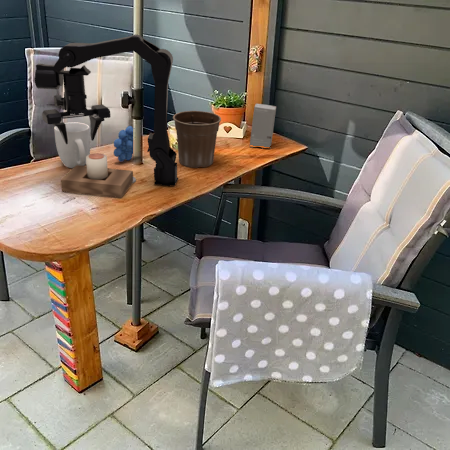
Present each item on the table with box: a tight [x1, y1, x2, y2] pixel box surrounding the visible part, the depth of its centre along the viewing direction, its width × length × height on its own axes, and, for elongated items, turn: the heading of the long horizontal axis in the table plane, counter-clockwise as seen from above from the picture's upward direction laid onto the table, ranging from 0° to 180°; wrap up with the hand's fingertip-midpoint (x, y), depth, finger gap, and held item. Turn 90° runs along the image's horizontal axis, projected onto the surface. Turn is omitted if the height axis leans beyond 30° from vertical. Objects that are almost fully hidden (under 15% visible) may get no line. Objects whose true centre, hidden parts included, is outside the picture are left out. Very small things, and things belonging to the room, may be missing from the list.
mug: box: [53, 121, 92, 169], centre depth 159 cm, size 15×11×13 cm
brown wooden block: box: [60, 165, 134, 199], centre depth 148 cm, size 18×12×4 cm, turn 83°
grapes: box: [113, 125, 134, 163], centre depth 168 cm, size 12×7×12 cm, turn 140°
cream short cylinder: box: [85, 152, 108, 180], centre depth 146 cm, size 6×6×6 cm
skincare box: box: [249, 103, 277, 148], centre depth 189 cm, size 8×7×16 cm
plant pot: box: [172, 110, 222, 169], centre depth 169 cm, size 16×16×16 cm
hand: (79, 142), depth 149 cm, fingers open, 8 cm apart
